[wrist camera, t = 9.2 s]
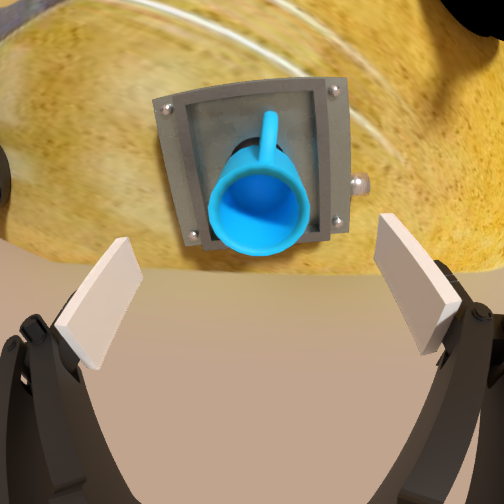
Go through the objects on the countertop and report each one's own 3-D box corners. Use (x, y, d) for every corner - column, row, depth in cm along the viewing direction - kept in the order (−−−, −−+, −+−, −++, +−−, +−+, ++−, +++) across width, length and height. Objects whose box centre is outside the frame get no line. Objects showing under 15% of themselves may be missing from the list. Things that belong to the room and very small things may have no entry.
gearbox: (195, 224, 38) (181, 255, 32) (169, 98, 29) (144, 100, 22) (357, 210, 36) (376, 239, 30) (355, 81, 27) (381, 78, 20)
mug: (290, 220, 31) (298, 261, 24) (218, 211, 31) (205, 250, 24) (310, 115, 24) (329, 124, 18) (228, 104, 24) (215, 107, 17)
